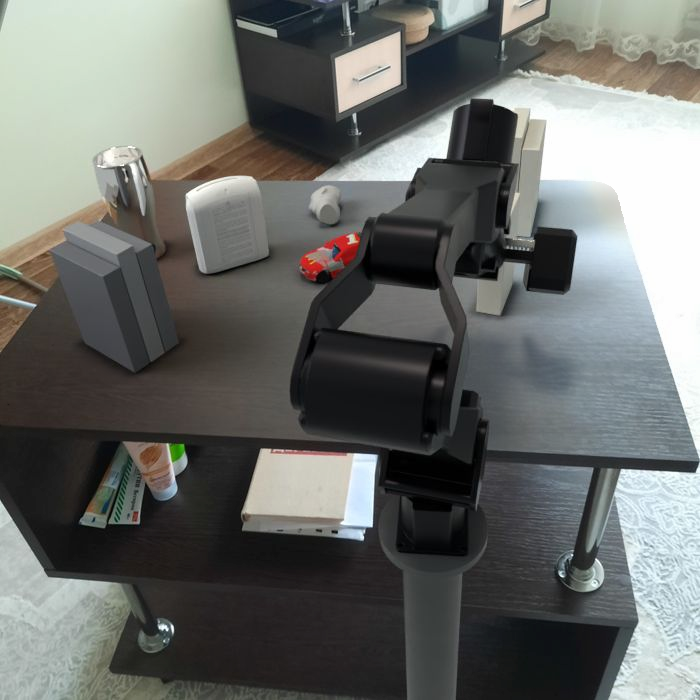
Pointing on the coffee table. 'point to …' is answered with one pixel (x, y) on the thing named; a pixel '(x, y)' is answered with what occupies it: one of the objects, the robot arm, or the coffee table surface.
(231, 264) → the photo printer
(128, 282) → the grey books
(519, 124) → the white books
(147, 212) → the silver metal cup
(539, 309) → the coffee table surface
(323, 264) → the race car
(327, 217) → the pale two-lobed sculpture
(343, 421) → the robot arm
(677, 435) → the coffee table surface
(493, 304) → the white book
